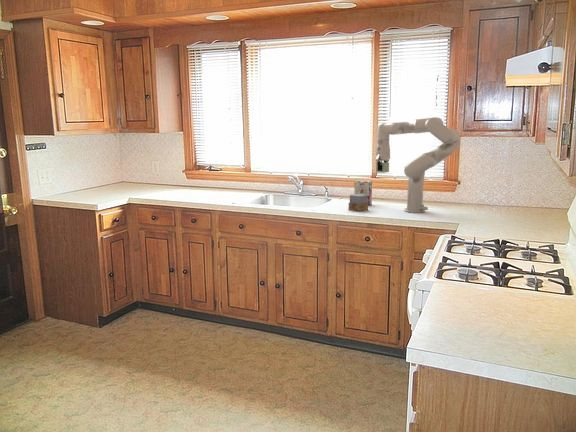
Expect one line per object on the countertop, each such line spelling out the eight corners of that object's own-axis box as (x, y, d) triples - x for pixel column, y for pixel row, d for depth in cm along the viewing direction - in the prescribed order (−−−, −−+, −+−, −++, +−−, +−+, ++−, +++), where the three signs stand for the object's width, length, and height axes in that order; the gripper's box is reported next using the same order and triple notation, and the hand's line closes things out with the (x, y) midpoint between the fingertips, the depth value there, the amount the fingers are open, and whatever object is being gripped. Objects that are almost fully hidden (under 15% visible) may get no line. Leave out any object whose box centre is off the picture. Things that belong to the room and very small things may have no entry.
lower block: (367, 210, 329) (368, 202, 328) (360, 212, 323) (360, 204, 322) (356, 208, 335) (356, 201, 334) (348, 210, 329) (348, 202, 328)
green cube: (388, 171, 330) (389, 162, 329) (384, 172, 326) (384, 163, 325) (380, 171, 334) (381, 162, 333) (376, 172, 330) (376, 162, 329)
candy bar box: (371, 204, 348) (372, 181, 345) (369, 205, 344) (370, 181, 341) (356, 203, 354) (356, 180, 350) (353, 204, 349) (354, 180, 346)
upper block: (367, 202, 328) (367, 195, 327) (359, 204, 323) (359, 196, 322) (357, 201, 334) (357, 193, 333) (349, 202, 328) (349, 195, 327)
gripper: (381, 143, 318) (380, 171, 321) (395, 142, 330) (394, 169, 334) (371, 142, 323) (370, 171, 326) (385, 141, 335) (384, 169, 339)
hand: (382, 170), depth 330 cm, fingers closed on green cube, 6 cm apart
